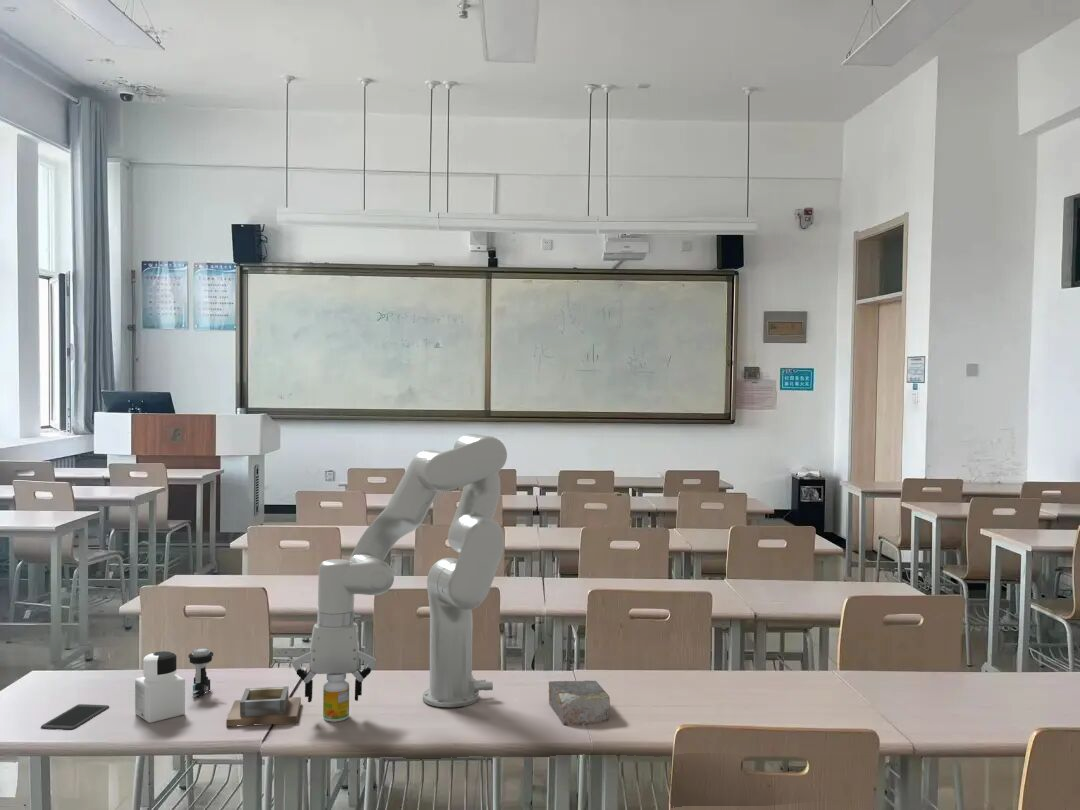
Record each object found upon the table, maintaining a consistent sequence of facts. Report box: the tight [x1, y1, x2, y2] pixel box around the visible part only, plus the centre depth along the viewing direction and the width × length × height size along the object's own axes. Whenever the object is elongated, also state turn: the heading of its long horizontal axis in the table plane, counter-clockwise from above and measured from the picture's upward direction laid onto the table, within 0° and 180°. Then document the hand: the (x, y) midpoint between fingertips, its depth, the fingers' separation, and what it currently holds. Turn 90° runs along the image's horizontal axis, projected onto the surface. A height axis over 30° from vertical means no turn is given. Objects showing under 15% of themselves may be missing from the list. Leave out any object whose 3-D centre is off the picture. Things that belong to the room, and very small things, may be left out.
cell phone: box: [40, 703, 110, 731], centre depth 196 cm, size 7×14×1 cm, turn 175°
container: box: [134, 650, 186, 724], centre depth 198 cm, size 8×8×13 cm
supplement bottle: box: [322, 674, 350, 723], centre depth 197 cm, size 5×5×10 cm
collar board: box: [225, 686, 302, 726], centre depth 198 cm, size 14×12×4 cm
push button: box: [187, 647, 214, 698], centre depth 211 cm, size 7×5×10 cm
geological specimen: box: [548, 679, 611, 726], centre depth 202 cm, size 11×6×15 cm
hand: (333, 699), depth 197 cm, fingers open, 9 cm apart
